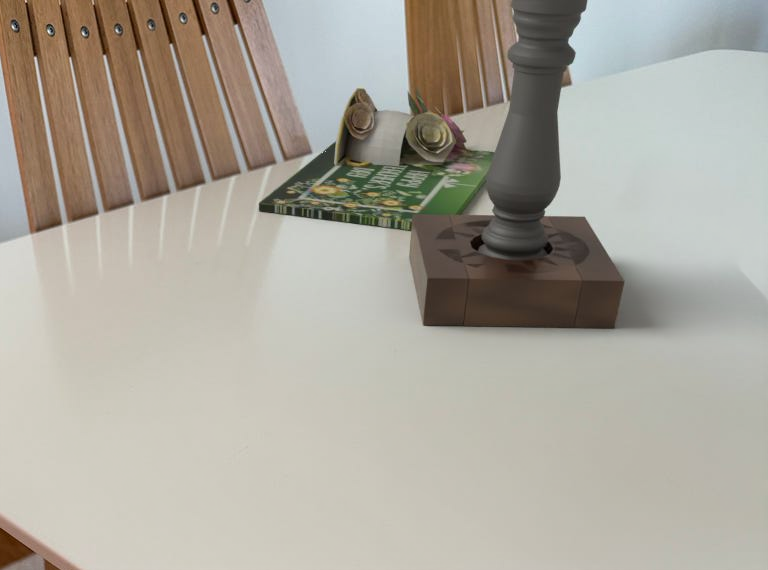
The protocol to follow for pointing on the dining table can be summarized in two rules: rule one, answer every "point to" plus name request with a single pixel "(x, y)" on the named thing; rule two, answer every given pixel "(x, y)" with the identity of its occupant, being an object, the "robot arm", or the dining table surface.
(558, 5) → the grey baluster
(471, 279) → the holder
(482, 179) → the decorative card
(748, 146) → the dining table surface
